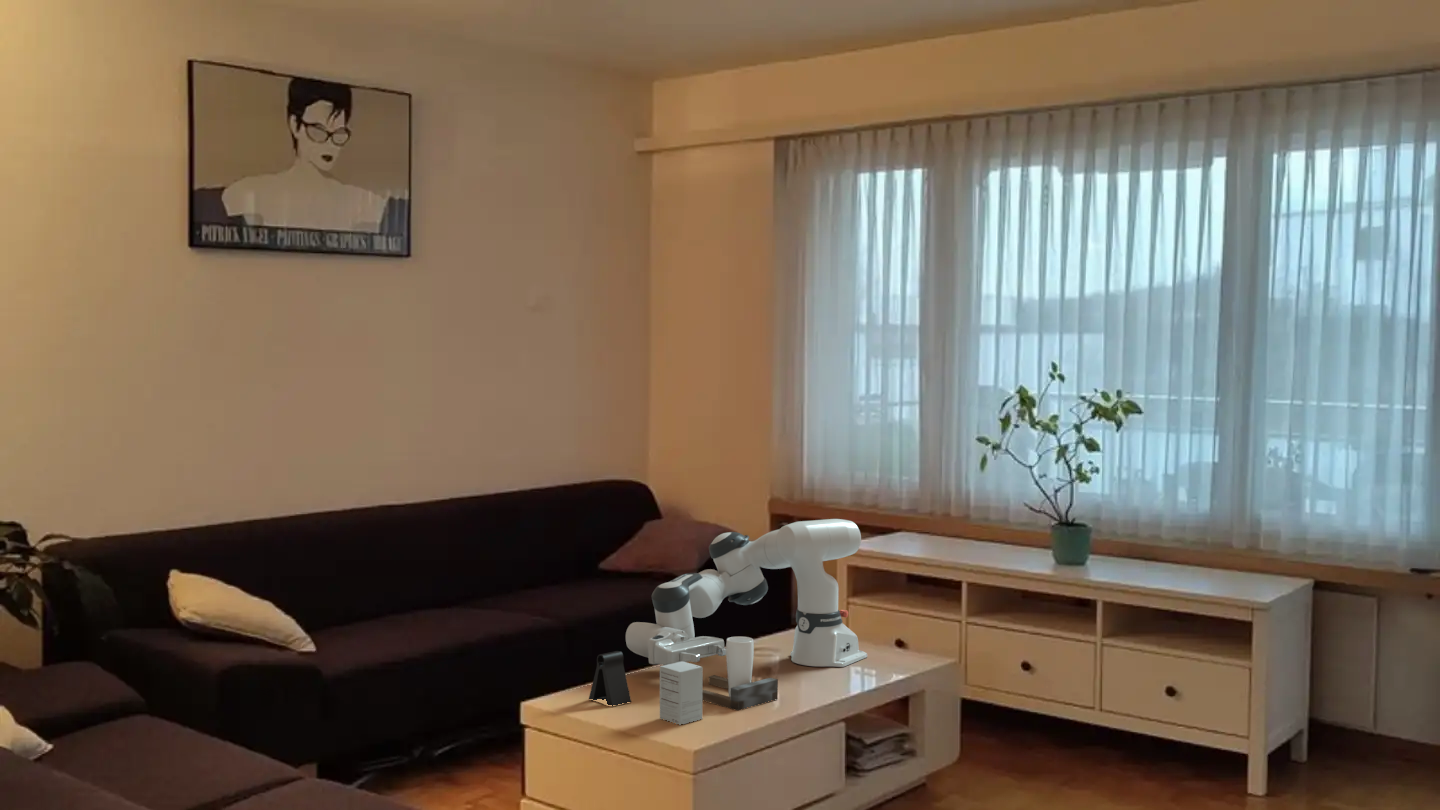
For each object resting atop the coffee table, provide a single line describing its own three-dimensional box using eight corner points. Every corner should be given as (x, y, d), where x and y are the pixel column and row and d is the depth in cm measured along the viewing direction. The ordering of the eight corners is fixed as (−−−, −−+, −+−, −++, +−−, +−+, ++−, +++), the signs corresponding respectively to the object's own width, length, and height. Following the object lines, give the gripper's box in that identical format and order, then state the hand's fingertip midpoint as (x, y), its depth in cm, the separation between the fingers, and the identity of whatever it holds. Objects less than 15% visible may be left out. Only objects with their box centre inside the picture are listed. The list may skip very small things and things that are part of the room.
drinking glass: (750, 704, 329) (751, 643, 329) (723, 702, 331) (723, 641, 330) (755, 696, 336) (755, 637, 335) (728, 695, 337) (728, 635, 336)
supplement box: (682, 713, 321) (682, 660, 321) (703, 719, 316) (703, 666, 315) (658, 719, 316) (658, 665, 316) (679, 726, 311) (679, 671, 310)
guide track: (714, 682, 349) (714, 663, 349) (777, 699, 334) (777, 679, 333) (674, 692, 339) (674, 672, 339) (737, 710, 324) (738, 689, 324)
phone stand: (588, 700, 332) (588, 651, 331) (607, 695, 336) (607, 647, 335) (612, 707, 325) (612, 658, 325) (631, 703, 330) (631, 654, 329)
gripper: (701, 651, 356) (739, 661, 347) (644, 664, 342) (682, 674, 332) (702, 628, 356) (740, 636, 346) (644, 640, 341) (682, 649, 332)
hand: (711, 655), depth 339 cm, fingers open, 8 cm apart
